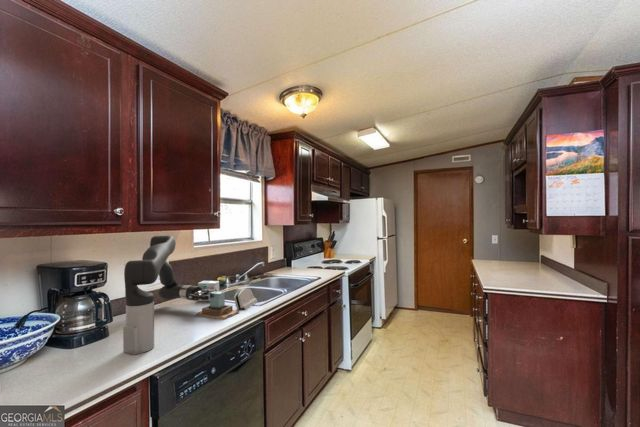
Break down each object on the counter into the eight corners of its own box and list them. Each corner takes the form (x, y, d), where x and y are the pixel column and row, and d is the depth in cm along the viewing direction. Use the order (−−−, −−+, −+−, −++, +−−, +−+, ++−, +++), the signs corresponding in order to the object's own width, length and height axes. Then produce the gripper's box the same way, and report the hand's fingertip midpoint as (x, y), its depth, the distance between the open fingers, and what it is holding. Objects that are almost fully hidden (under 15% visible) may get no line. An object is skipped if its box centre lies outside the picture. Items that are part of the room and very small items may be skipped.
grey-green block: (219, 313, 154) (218, 293, 154) (209, 312, 157) (209, 292, 157) (224, 311, 158) (224, 292, 158) (215, 310, 160) (215, 291, 160)
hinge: (245, 310, 164) (239, 292, 164) (237, 312, 164) (231, 294, 165) (257, 301, 180) (252, 285, 181) (250, 303, 181) (245, 287, 182)
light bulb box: (197, 301, 183) (197, 282, 183) (203, 298, 190) (203, 280, 190) (214, 301, 182) (214, 283, 182) (219, 298, 188) (219, 280, 188)
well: (223, 319, 149) (223, 312, 149) (195, 315, 156) (195, 308, 156) (238, 312, 159) (238, 306, 159) (211, 309, 166) (211, 302, 166)
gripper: (179, 288, 159) (203, 291, 152) (200, 283, 172) (223, 285, 165) (179, 303, 159) (203, 306, 152) (200, 296, 172) (223, 299, 165)
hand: (213, 295), depth 158 cm, fingers open, 8 cm apart
